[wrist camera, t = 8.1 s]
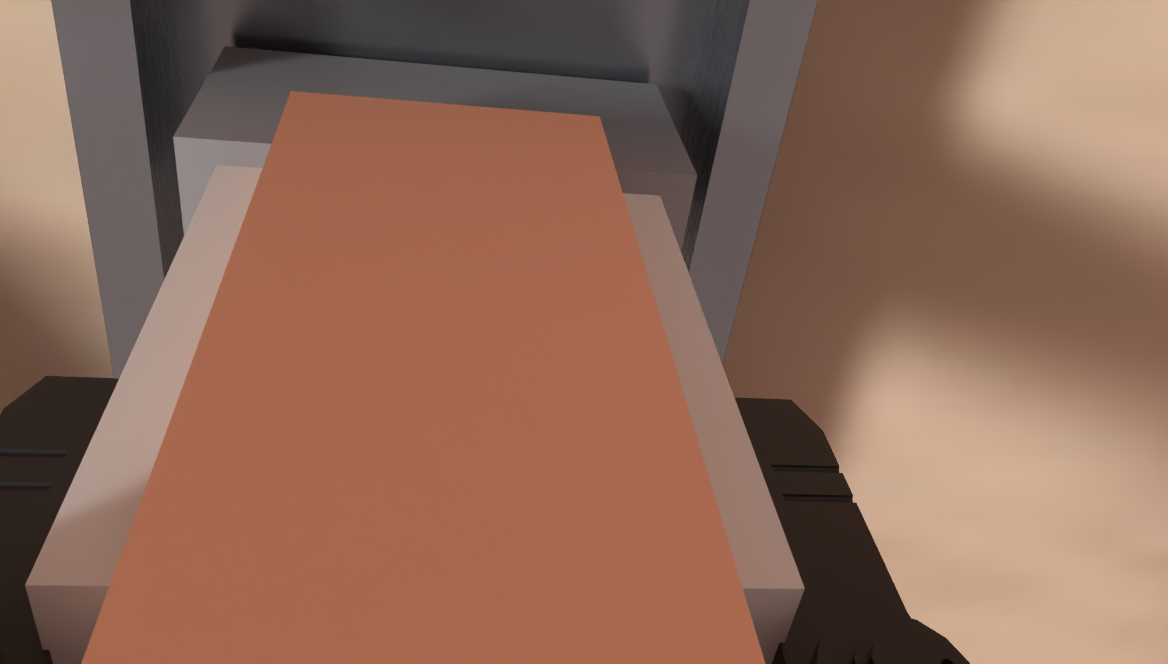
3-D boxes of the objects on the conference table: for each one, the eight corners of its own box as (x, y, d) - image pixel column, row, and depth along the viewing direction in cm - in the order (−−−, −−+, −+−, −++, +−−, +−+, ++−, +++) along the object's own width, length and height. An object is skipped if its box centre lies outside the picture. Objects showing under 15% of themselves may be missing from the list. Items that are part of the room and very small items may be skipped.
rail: (121, -266, 16) (12, -235, 12) (762, -177, 17) (850, -125, 13) (217, 593, 27) (177, 753, 23) (600, 595, 28) (622, 744, 25)
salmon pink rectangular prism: (220, -2, 15) (-926, 1741, 3) (663, 40, 16) (1370, 1401, 4) (238, 227, 17) (-332, 1764, 5) (626, 250, 19) (991, 1550, 6)
